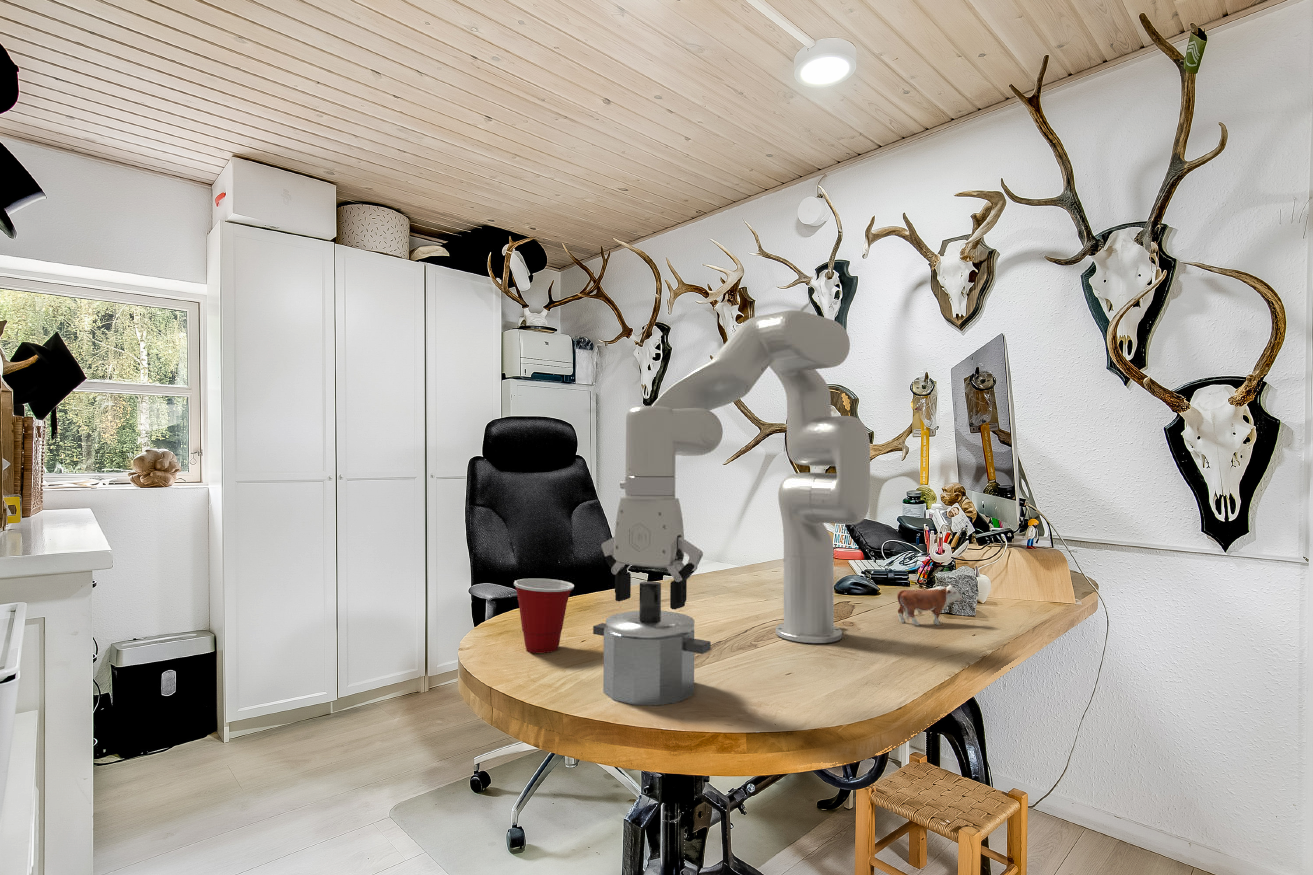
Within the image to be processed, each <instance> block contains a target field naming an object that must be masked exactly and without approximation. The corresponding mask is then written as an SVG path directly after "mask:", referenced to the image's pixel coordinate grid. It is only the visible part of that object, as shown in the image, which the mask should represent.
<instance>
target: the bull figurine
mask: <svg viewBox="0 0 1313 875" xmlns="http://www.w3.org/2000/svg"><path fill="white" fill-rule="evenodd" d="M962 598H963V596H961V595H960V593H959V591H958V590H957V589H956V588H955V587H954V586H953V585H951V584H949V585H948V586H942V585H940V586H939V585H938V586H936V587H932V588H928V589H901V590H899V591H898V593H897V601H898V605H899V608H898V610H897V613H898V617H899V618H898V619H899V621H900V622H901V623H902V624H905V623H906V620H907V621H909V619H911V621H912V624H913V625H915V626H916V627H920V626H921V624H920V622H919V621H918V620H917V618H916V616H915V611H917V613H918V615H922V613H923V612H926V611H930V612H931V613H932V615H933V624H935V625H936V626H940V625H941V620H940V619H939V617H940V614H941V613H942V612H943V611H944V610H945V609H946V607H948V605H949V603H954V602H955V601H961V600H962ZM905 619H906V620H905Z"/></svg>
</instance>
